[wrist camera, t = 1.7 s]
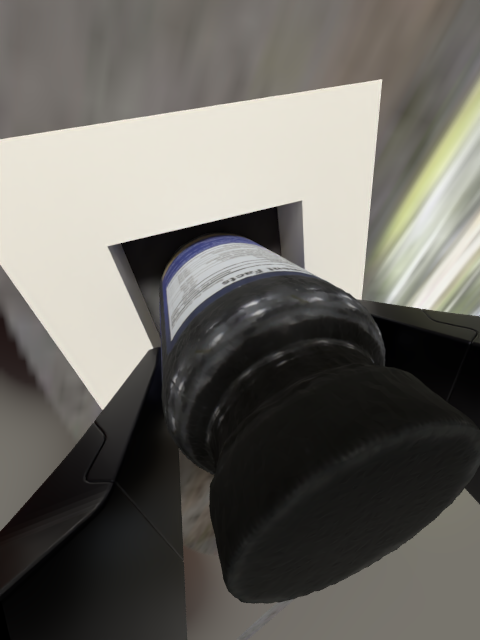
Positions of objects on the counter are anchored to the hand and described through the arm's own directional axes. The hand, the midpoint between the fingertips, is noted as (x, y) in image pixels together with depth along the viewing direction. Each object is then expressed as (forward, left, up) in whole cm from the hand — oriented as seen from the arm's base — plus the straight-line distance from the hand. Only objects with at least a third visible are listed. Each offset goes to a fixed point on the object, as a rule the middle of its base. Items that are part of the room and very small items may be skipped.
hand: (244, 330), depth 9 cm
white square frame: (0, 0, -4) cm, 4 cm away
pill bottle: (0, 0, -5) cm, 5 cm away
